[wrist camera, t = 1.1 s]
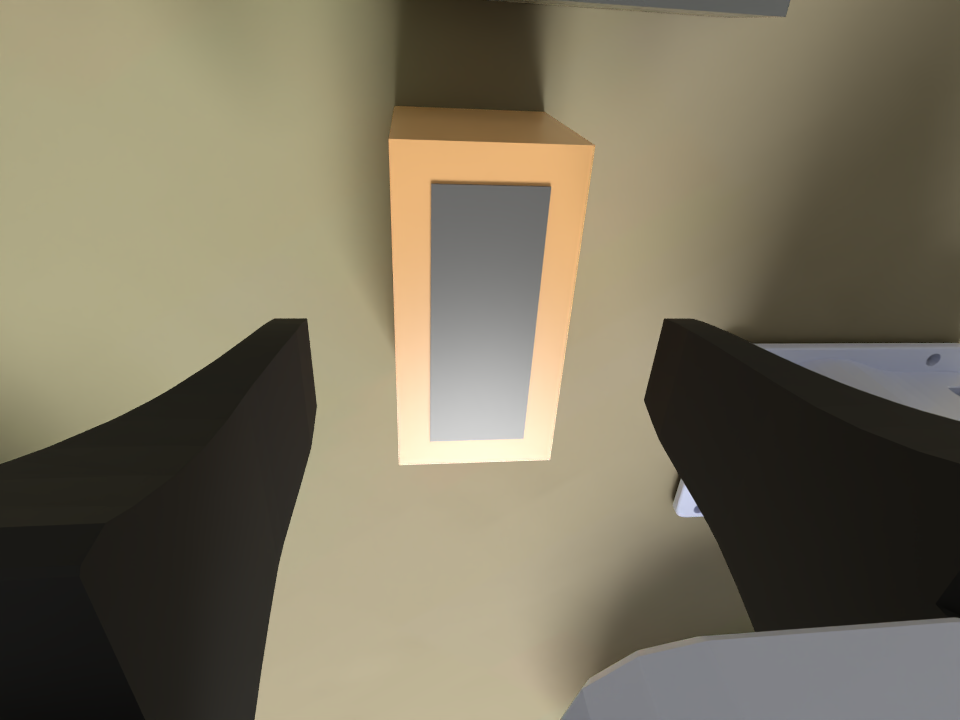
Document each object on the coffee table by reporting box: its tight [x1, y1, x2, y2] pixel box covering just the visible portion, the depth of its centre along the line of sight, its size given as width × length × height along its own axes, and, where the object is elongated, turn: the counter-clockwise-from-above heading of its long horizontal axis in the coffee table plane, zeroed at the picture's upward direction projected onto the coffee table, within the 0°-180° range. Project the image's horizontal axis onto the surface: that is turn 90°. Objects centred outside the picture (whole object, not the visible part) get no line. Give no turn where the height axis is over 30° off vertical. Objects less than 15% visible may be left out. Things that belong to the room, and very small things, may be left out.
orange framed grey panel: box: [389, 106, 595, 465], centre depth 15 cm, size 4×8×5 cm, turn 177°
